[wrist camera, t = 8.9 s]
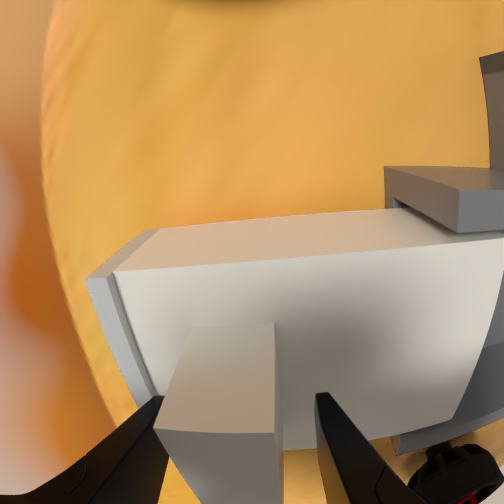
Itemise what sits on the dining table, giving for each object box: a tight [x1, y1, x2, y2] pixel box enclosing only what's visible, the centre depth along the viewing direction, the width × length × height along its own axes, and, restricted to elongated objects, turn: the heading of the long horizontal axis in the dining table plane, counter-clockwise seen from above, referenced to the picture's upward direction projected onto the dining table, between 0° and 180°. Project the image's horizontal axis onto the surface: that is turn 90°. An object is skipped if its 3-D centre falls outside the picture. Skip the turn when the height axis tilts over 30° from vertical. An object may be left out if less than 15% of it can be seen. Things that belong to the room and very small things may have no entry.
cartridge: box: [85, 207, 504, 504], centre depth 9 cm, size 9×13×8 cm
